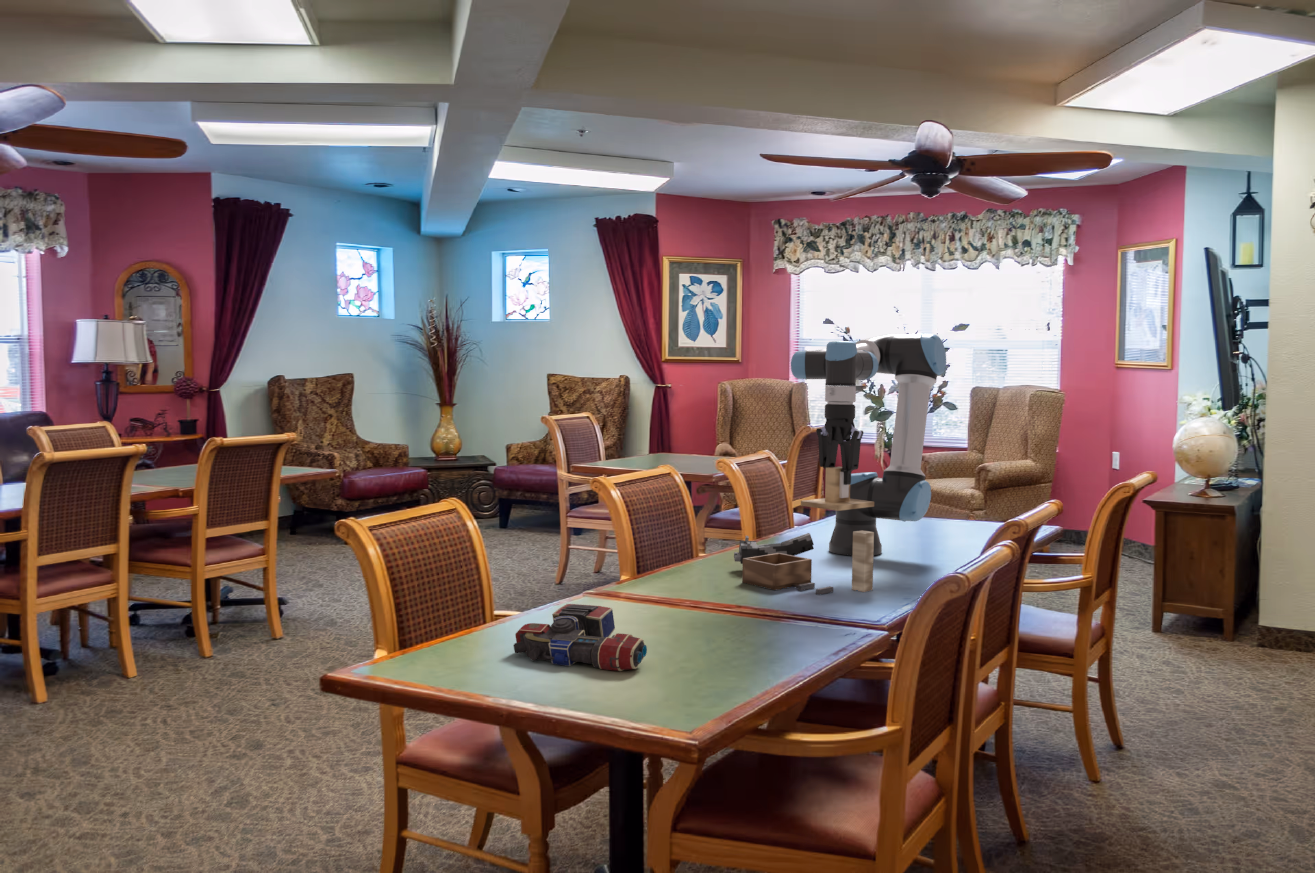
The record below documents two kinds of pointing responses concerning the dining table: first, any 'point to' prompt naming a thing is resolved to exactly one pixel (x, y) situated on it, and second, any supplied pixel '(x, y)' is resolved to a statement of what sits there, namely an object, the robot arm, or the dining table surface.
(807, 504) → the lid
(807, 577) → the open wooden box
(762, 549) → the toy
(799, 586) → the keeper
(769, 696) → the dining table surface
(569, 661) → the multicoloured piece
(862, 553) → the tan block
